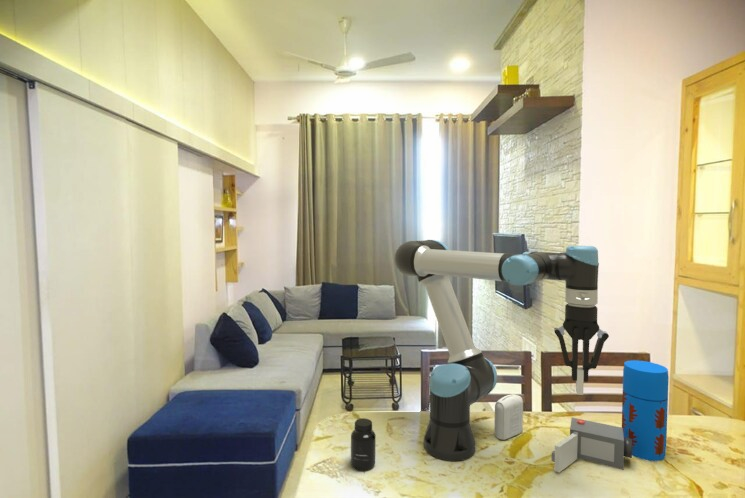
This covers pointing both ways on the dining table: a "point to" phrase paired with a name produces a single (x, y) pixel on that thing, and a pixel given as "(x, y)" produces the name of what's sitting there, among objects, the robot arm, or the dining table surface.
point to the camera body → (601, 443)
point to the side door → (565, 452)
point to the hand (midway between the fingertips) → (579, 392)
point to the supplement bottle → (363, 445)
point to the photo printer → (508, 416)
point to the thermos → (645, 408)
